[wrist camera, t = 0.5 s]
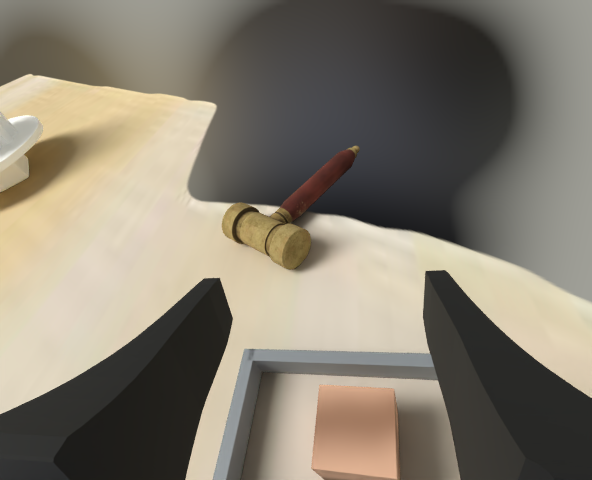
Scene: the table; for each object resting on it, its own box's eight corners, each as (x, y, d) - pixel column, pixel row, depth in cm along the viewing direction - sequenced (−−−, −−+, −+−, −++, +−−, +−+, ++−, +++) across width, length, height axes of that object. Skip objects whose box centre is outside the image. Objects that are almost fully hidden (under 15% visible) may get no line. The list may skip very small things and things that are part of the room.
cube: (400, 491, 24) (396, 478, 20) (327, 482, 25) (311, 468, 22) (397, 412, 27) (393, 388, 24) (332, 407, 29) (319, 384, 25)
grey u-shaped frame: (476, 574, 21) (481, 576, 19) (217, 527, 25) (201, 524, 23) (449, 367, 28) (450, 354, 26) (254, 360, 33) (244, 348, 31)
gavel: (325, 126, 50) (389, 139, 44) (330, 154, 53) (391, 170, 48) (215, 218, 41) (278, 249, 35) (229, 245, 44) (288, 278, 38)
